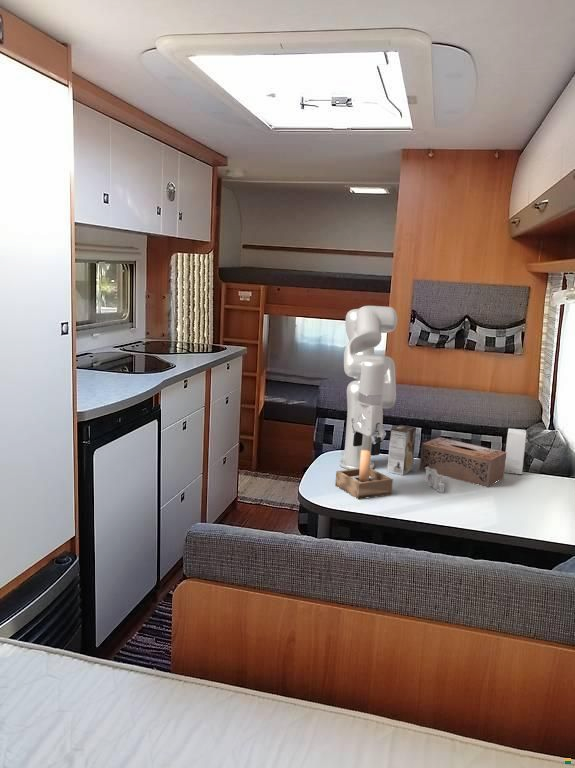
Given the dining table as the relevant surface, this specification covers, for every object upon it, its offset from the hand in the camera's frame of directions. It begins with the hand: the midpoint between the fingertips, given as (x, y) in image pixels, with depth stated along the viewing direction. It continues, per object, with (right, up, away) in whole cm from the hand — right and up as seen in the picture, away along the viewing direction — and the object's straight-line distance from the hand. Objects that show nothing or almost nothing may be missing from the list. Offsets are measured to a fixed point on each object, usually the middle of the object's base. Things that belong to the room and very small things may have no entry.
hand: (366, 450), depth 197 cm
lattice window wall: (+24, -13, +9) cm, 29 cm away
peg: (-1, -12, +1) cm, 12 cm away
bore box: (-1, -13, +1) cm, 13 cm away
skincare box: (+59, -11, +32) cm, 68 cm away
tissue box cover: (+38, -12, +25) cm, 47 cm away
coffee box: (+15, -10, +24) cm, 30 cm away
